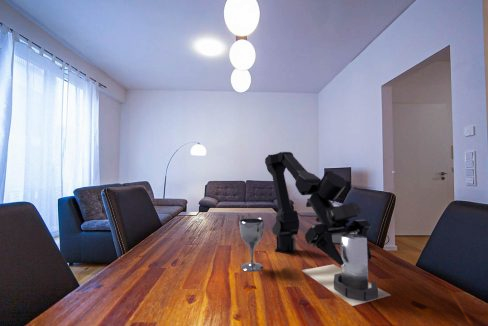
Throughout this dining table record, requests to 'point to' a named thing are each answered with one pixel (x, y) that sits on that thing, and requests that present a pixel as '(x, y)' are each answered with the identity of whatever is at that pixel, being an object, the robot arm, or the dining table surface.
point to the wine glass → (251, 239)
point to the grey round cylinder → (354, 261)
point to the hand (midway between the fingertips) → (356, 261)
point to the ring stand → (333, 282)
